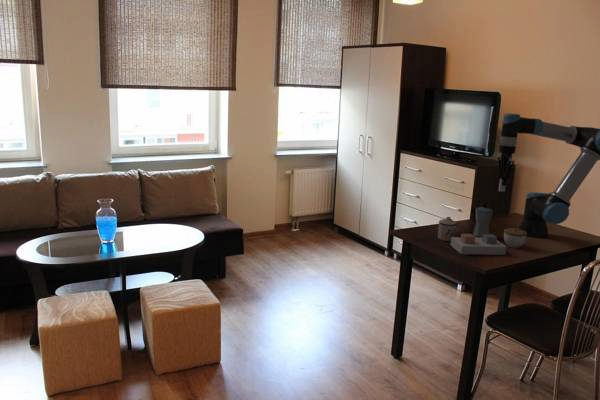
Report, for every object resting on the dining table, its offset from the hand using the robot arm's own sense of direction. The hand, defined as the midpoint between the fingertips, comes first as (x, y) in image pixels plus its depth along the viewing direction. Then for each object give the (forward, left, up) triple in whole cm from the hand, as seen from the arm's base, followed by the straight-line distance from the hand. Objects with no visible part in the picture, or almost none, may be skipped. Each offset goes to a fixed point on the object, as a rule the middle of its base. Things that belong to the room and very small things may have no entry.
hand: (501, 191), depth 267 cm
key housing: (+16, +15, -26) cm, 34 cm away
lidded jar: (-6, +8, -27) cm, 28 cm away
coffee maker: (+4, -10, -27) cm, 29 cm away
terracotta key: (+21, +15, -24) cm, 35 cm away
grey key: (+10, +15, -24) cm, 30 cm away
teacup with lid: (+24, -3, -27) cm, 36 cm away
